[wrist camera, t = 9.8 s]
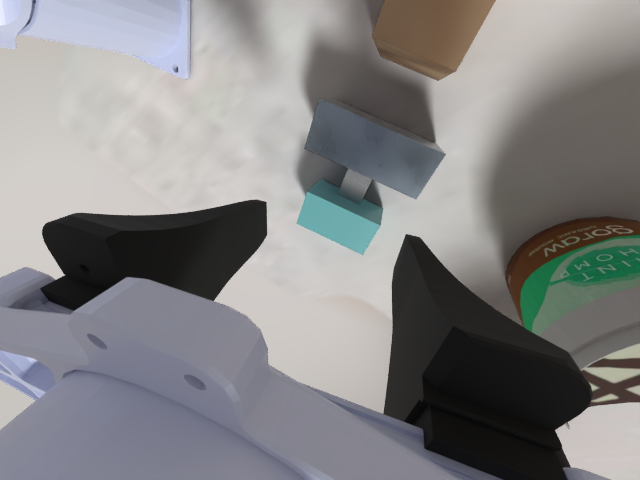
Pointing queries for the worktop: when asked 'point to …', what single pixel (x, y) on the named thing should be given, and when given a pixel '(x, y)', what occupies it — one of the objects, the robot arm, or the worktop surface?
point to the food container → (585, 299)
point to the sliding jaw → (361, 171)
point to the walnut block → (429, 33)
